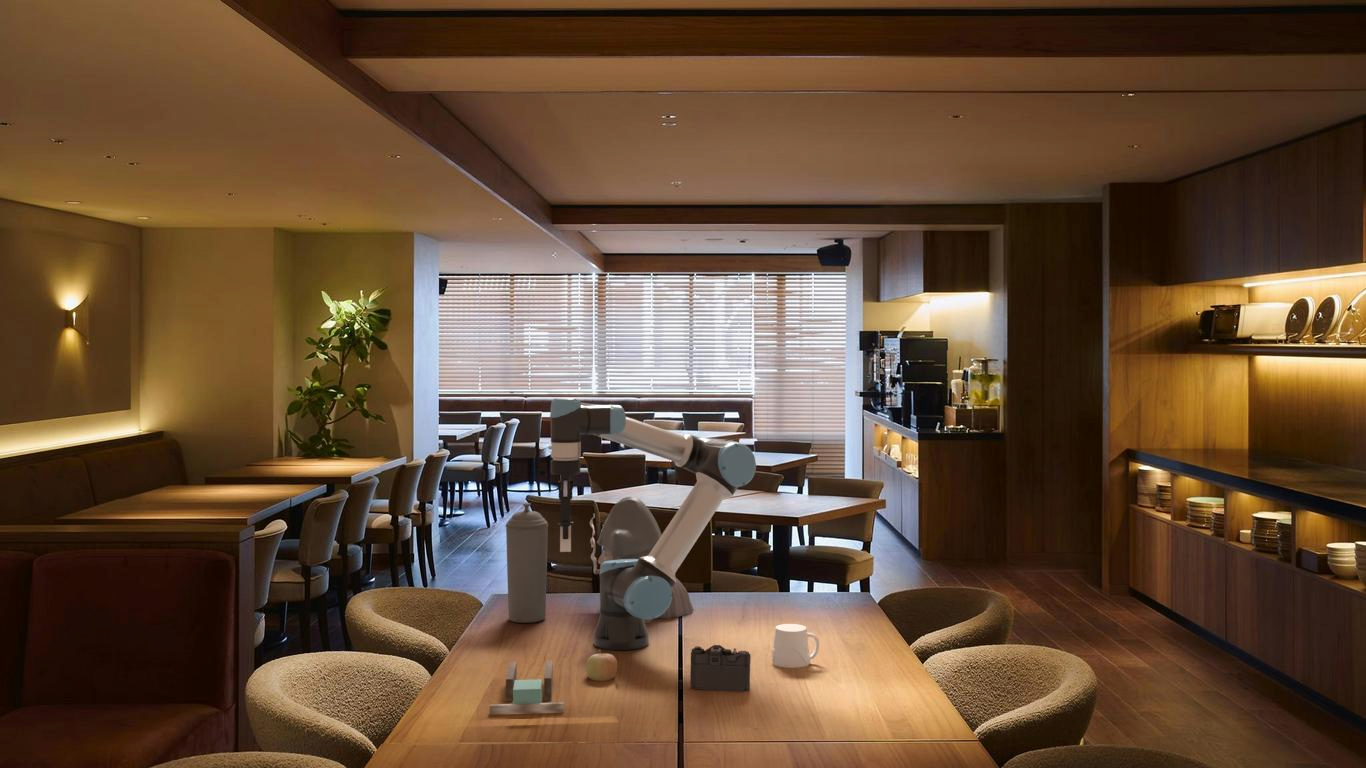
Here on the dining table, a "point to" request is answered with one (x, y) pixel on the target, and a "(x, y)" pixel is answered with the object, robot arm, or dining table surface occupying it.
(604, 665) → the fruit
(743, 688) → the camera
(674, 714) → the dining table surface
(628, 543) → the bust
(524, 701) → the block
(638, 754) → the dining table surface
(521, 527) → the canister
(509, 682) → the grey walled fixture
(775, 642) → the mug
